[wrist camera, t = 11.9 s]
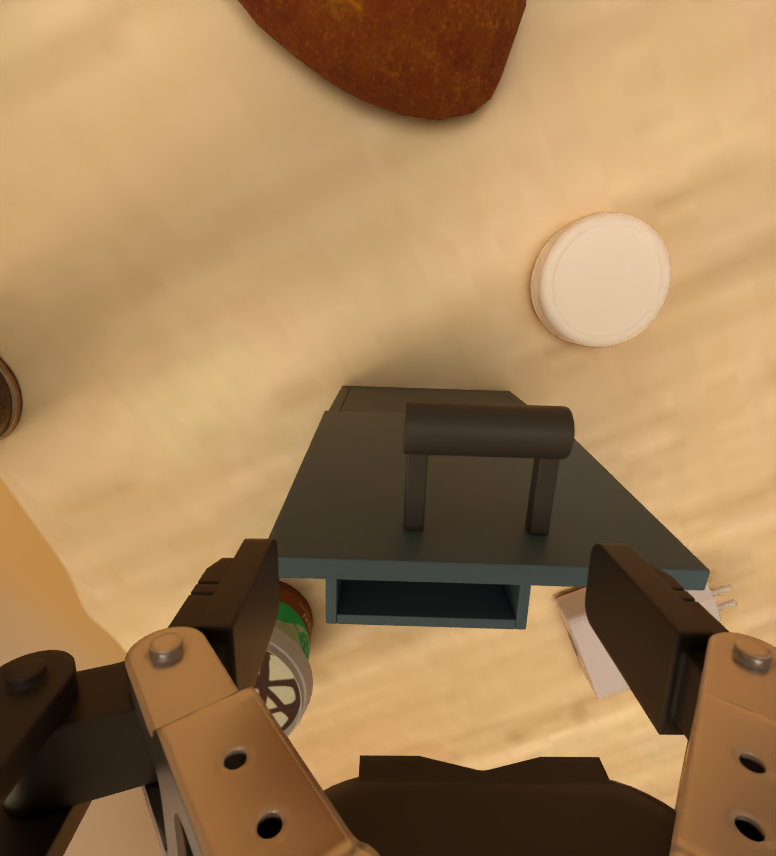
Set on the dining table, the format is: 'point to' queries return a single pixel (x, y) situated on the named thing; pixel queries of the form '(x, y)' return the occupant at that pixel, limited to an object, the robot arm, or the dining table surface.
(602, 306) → the white round disc
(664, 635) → the robot arm
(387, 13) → the bread
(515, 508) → the lid
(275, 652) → the food container
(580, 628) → the charger
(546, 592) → the dining table surface
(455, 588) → the cool chest
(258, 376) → the dining table surface
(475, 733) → the dining table surface
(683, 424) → the dining table surface
